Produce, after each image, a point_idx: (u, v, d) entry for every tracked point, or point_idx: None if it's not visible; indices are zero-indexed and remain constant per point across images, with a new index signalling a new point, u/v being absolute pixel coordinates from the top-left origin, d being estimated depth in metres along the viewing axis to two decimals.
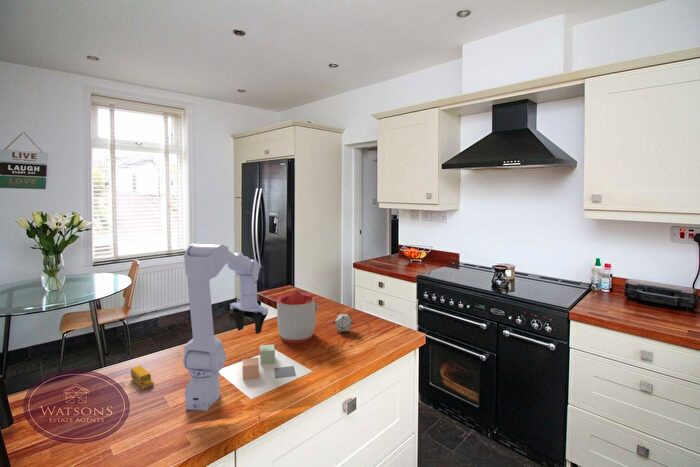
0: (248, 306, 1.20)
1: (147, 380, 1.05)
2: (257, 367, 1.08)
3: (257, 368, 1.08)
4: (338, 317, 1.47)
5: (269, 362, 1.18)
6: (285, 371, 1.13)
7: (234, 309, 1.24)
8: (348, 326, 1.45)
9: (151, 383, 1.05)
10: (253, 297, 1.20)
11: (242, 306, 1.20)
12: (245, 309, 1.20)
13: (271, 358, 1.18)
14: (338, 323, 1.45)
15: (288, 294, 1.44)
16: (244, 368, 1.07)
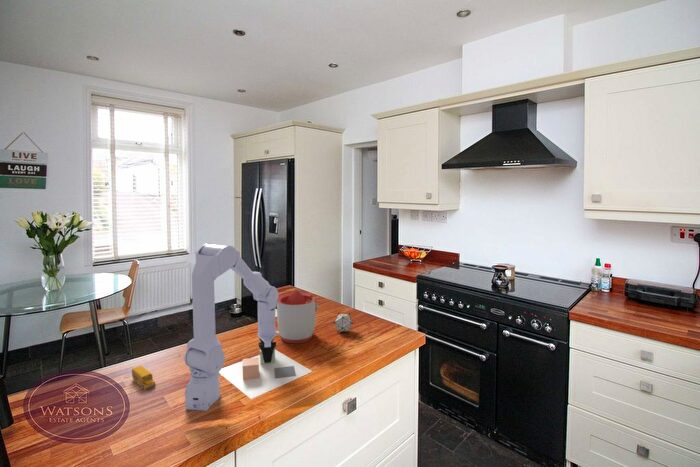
0: (260, 333, 1.17)
1: (149, 380, 1.05)
2: (257, 367, 1.08)
3: (257, 368, 1.08)
4: (338, 316, 1.47)
5: None
6: (285, 371, 1.13)
7: None
8: (348, 326, 1.45)
9: (153, 383, 1.05)
10: (264, 325, 1.16)
11: None
12: (258, 335, 1.18)
13: None
14: (338, 323, 1.45)
15: (288, 294, 1.44)
16: (244, 368, 1.07)
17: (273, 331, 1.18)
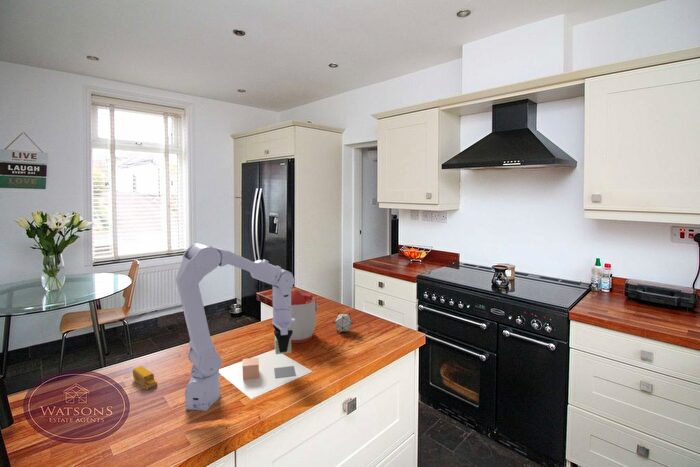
0: (275, 321, 1.09)
1: (151, 380, 1.05)
2: (257, 367, 1.08)
3: (257, 368, 1.08)
4: (338, 316, 1.47)
5: (285, 352, 1.11)
6: (285, 371, 1.13)
7: None
8: (348, 326, 1.45)
9: (155, 383, 1.05)
10: (280, 312, 1.08)
11: (273, 318, 1.11)
12: (273, 323, 1.10)
13: None
14: (338, 323, 1.45)
15: None
16: (244, 368, 1.07)
17: (289, 318, 1.10)
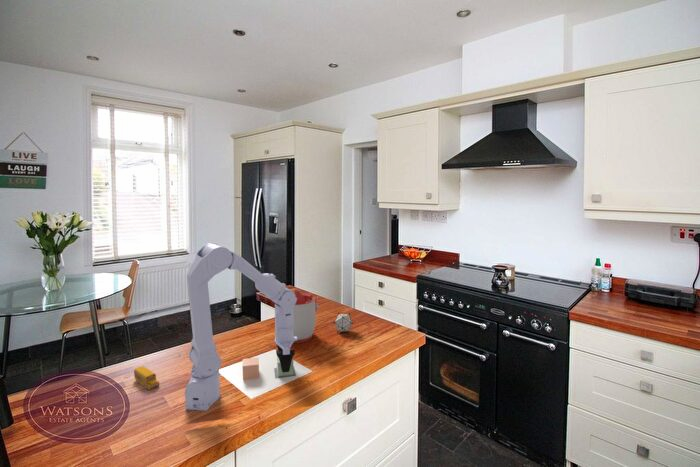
0: (277, 339, 1.09)
1: (153, 380, 1.05)
2: (257, 367, 1.08)
3: (257, 368, 1.08)
4: (338, 317, 1.47)
5: (287, 374, 1.10)
6: None
7: None
8: (348, 326, 1.45)
9: (157, 383, 1.05)
10: (282, 331, 1.08)
11: (275, 337, 1.11)
12: (275, 341, 1.10)
13: None
14: (338, 323, 1.45)
15: None
16: (244, 368, 1.07)
17: (291, 337, 1.10)
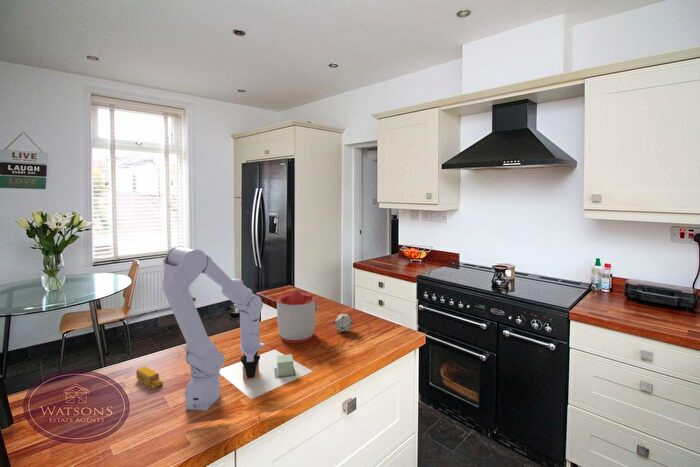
0: (242, 346, 1.07)
1: (156, 380, 1.05)
2: (257, 367, 1.08)
3: (257, 368, 1.08)
4: (338, 317, 1.47)
5: (287, 374, 1.10)
6: None
7: None
8: (348, 326, 1.45)
9: (160, 382, 1.05)
10: (247, 337, 1.06)
11: None
12: (240, 348, 1.08)
13: (289, 369, 1.10)
14: (338, 323, 1.45)
15: (288, 294, 1.44)
16: (244, 368, 1.07)
17: (257, 344, 1.08)
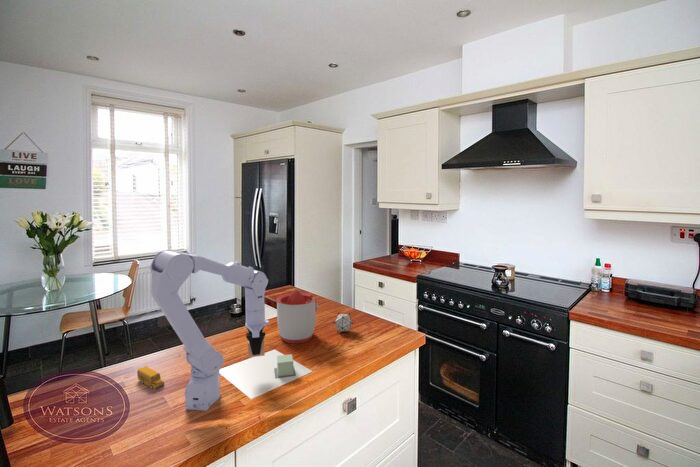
0: (247, 323, 1.07)
1: (157, 380, 1.05)
2: (262, 344, 1.08)
3: (263, 345, 1.08)
4: (338, 316, 1.47)
5: (287, 374, 1.10)
6: None
7: None
8: (348, 326, 1.45)
9: (162, 382, 1.05)
10: (252, 314, 1.06)
11: None
12: (245, 325, 1.07)
13: (289, 369, 1.10)
14: (338, 323, 1.45)
15: (288, 294, 1.44)
16: None
17: (262, 320, 1.08)
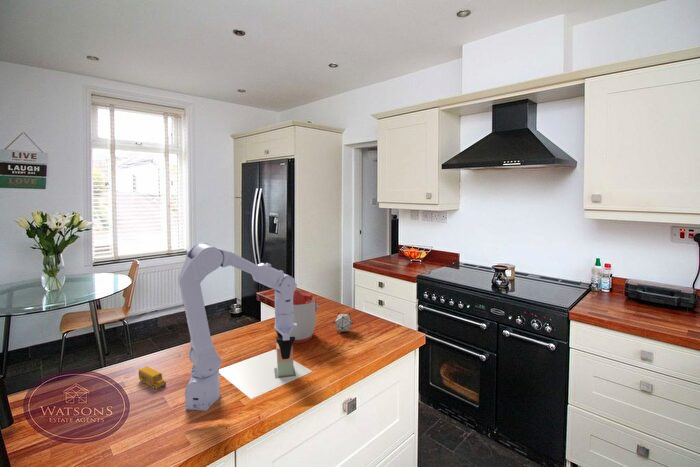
0: (277, 326, 1.08)
1: (159, 379, 1.05)
2: (291, 350, 1.10)
3: (291, 351, 1.10)
4: (338, 316, 1.47)
5: (287, 374, 1.10)
6: None
7: None
8: (348, 326, 1.45)
9: (164, 382, 1.05)
10: (282, 317, 1.08)
11: None
12: (275, 328, 1.09)
13: (289, 369, 1.10)
14: (338, 323, 1.45)
15: None
16: (279, 351, 1.09)
17: (291, 323, 1.09)
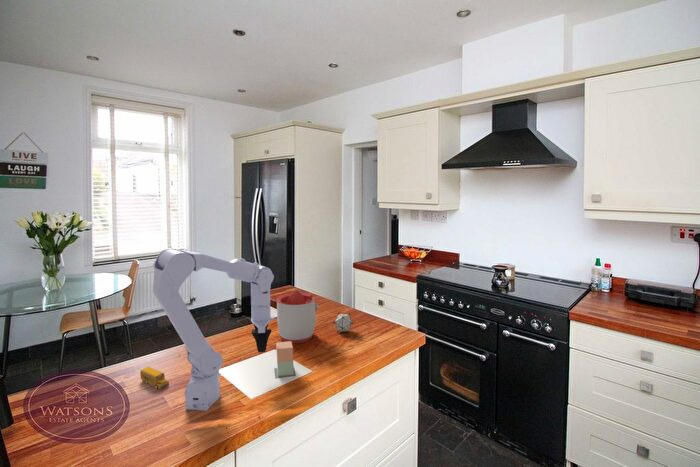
0: (253, 318, 1.06)
1: (162, 379, 1.06)
2: (291, 350, 1.10)
3: (291, 351, 1.10)
4: (338, 317, 1.47)
5: (287, 374, 1.10)
6: None
7: None
8: (348, 326, 1.45)
9: (166, 382, 1.06)
10: (258, 309, 1.05)
11: None
12: (251, 320, 1.07)
13: (289, 369, 1.10)
14: (338, 323, 1.45)
15: (288, 294, 1.44)
16: (279, 351, 1.09)
17: (268, 316, 1.07)
